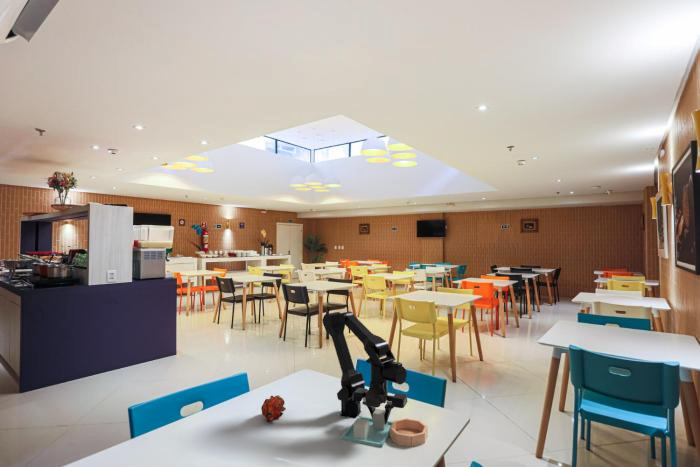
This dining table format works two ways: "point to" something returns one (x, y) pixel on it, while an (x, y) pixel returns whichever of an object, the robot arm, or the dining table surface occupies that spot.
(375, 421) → the cube
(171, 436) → the dining table surface
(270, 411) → the dragon fruit
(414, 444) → the bowl
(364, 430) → the grey cardboard cube
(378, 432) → the tray
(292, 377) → the dining table surface
